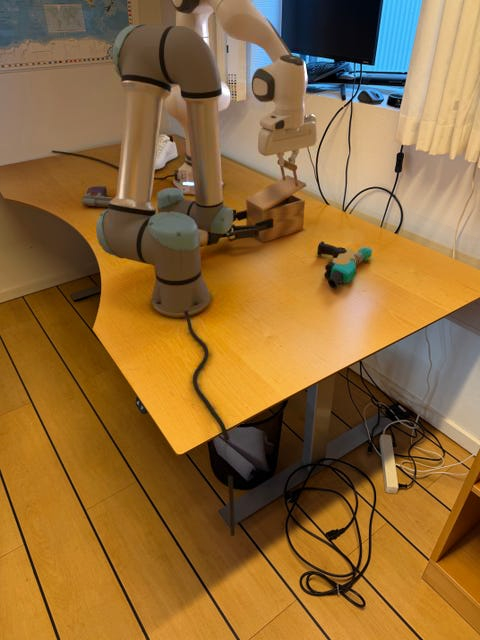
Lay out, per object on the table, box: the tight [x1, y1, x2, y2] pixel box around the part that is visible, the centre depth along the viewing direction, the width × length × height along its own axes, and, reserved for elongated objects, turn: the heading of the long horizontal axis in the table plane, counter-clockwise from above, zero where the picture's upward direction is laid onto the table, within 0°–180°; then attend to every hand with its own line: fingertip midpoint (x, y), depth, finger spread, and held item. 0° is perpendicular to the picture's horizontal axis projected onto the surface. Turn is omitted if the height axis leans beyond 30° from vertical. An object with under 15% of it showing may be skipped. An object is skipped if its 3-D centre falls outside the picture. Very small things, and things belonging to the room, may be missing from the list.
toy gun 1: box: [80, 185, 115, 208], centre depth 180 cm, size 4×19×15 cm
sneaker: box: [155, 133, 179, 171], centre depth 214 cm, size 10×29×12 cm, turn 163°
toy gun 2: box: [316, 240, 373, 290], centre depth 137 cm, size 4×26×15 cm
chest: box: [245, 194, 306, 243], centre depth 157 cm, size 16×10×10 cm, turn 123°
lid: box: [245, 159, 307, 212], centre depth 150 cm, size 17×10×8 cm, turn 122°
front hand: (263, 217), depth 154 cm, fingers closed on chest, 10 cm apart
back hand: (287, 164), depth 149 cm, fingers closed on lid, 2 cm apart
